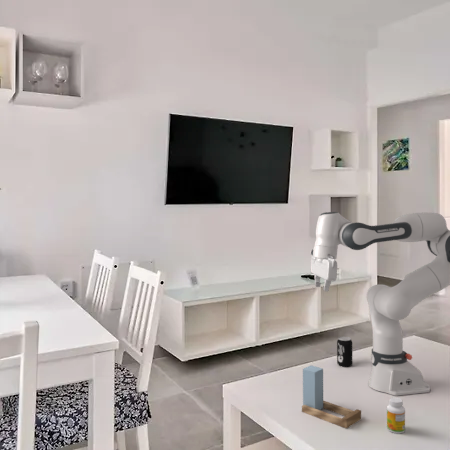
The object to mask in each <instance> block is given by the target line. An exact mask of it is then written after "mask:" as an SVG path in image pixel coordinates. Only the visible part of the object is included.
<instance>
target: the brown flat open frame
mask: <svg viewBox="0 0 450 450" xmlns="http://www.w3.org/2000/svg"><path fill="white" fill-rule="evenodd" d="M323 409H325V410H328V411H330V412H333V413H336V414H338V415H341V416H343V417H339V416H336V415H335V414H331V413H329V412H325V411H324V410H318V409H315V408H312V407H309V406H307V405H303V404H302V406H301V412H302V413H303V414H304V413H305V414H307V415H309V416H312V417H315V418H318V419H320V420H323V421H325V422H328V423H331V424H332V425H336V426H338V427H341V428H344V429H348V428H350V427H351V426H353V425H354V424H356V423H358V422H359V421H361V420H362V410H360V409H359V408H357V409H355V410H353V409H349V408H347V407H343V406H340V405H337V404H335V403H332V402H329V401H326V400H323Z"/></svg>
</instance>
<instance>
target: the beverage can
mask: <svg viewBox="0 0 450 450" xmlns="http://www.w3.org/2000/svg"><path fill="white" fill-rule="evenodd" d="M336 359H337V360H336V363H337V365H338V366H340V367H341V366H342V367H341V368H349V367H352V365H353V341H352V337H349V336H338V337H337V341H336Z"/></svg>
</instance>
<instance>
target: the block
mask: <svg viewBox="0 0 450 450" xmlns="http://www.w3.org/2000/svg"><path fill="white" fill-rule="evenodd" d="M323 401H324V368H323V367H318V366H315V365H312V364H311V365H309V366H306V367H304V368H302V406H303V405H307V406H309V407H312V408H315V409H318V410H320V411H322V409H324V408H323Z"/></svg>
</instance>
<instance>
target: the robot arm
mask: <svg viewBox="0 0 450 450" xmlns="http://www.w3.org/2000/svg"><path fill="white" fill-rule="evenodd" d="M315 227H316V228H315V237H316V238H315V242H314V247H313V248H312V249H311V250H310V255H311V257H310V272H311V274H313V275H314V286H315V287H317V288H320V287H321V284H322V283H321V279H323V280H324V285H322V286H323V287H322V290H323V291H324V292H327V293H328V292H329V290H330V286H331V284H332V282H336V280H337V279H338V262H337V259H338V248H339V245H342V246H344V247H346V248H350V249H351V250H353V251H361V250H364V249H366V248H368V247H369V246H371V245H373V244H376V243H377V244H378V243H385V242H391V241H399V242H403V243H415V242H416V243H417V242H426V244H427V248H428V250H429V252H430V253H431V254H432V255H434V256H435V258H434V259H433V260H432V261H431V262H428V263H427V264H424V265H423V266H420V267H419V268H417V269H415V270H413V271H412V272H409V273H407V274H406V275H405V276H404V278H402V280H401V281H400V282H399V283H397V284H396V285H394V286H390V285H386V284H373V285H371V286H370V288H369V289H368V290H367V292H366V301H367V304H368V310H369V317H370V322H371V327H372V330H371V331H372V348H371V354H370V360H371V372H370V377H369V379H368V380H369V381H368V383H367V384H368V386H369V388H371V389H373V390H375V391H378V392H382V393H387V394H389V395H391V396H395V397H396V396H397V397H398V396H406V395H414V394H425V393H431V386H430V385H429V384H428V383H427V382H426V381H425V380H424V376H423V374H422V372H421V371H420V369H418V367H416V366H415V365H414V364H413V363H411V361H412V359H413V355H412V354H410V353H407V352H406V351H404V349H403V347H404V345H403V344H404V343H403V342H404V340H403V338H404V337H403V330H402V327H401V322H400V320H401V321H402V320H404V319H406V318H408V316H409V315H410V313H411V312H412V310H413V309H414V308H415V307H416V306H417V305H418V304H420V303H421V302H422V301H425V300H426V299H427V298H429V297H431V296H433V295H435V294H437V293H438V292H441V291H442V290H444V289H446V288H447V287H449V286H450V229H448V227H447V220H446V218H445V217H444V216H443V215H442V214H440V213H438V212H413V213H408V214H407V213H406V214H404V215H400V216H398V217H396V218H395V219H394V221H393V222H391V223H385V224H377V225H369V224H366V223H363V222H353V221H351V220H349V219H347V218H345V217H344V216H343V215H342V214H340V212H338V211H329V212H326V211H325V212H323V213H321V214H319V215H318V218H317V222H316V226H315Z"/></svg>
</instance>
